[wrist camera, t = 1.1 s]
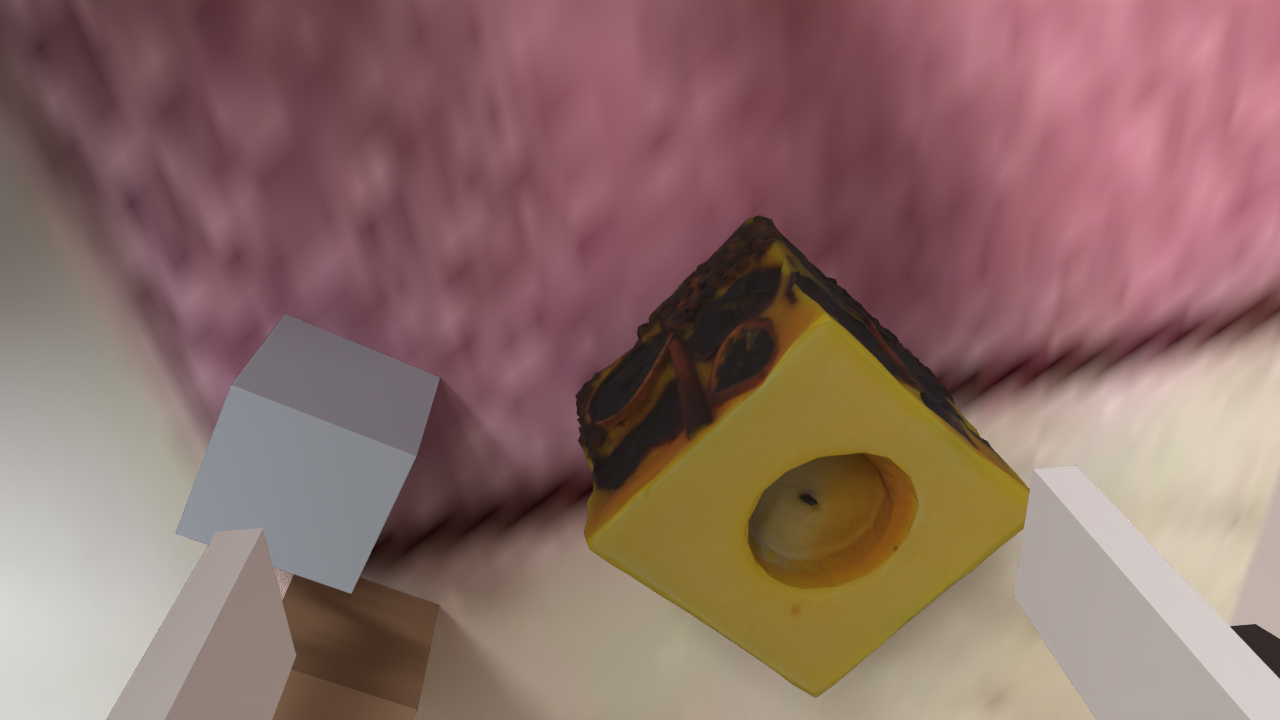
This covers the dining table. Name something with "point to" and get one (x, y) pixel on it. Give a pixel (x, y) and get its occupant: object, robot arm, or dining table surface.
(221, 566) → the robot arm
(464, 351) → the dining table surface
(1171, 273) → the dining table surface
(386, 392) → the slate block
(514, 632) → the dining table surface
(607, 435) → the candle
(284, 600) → the walnut cube
